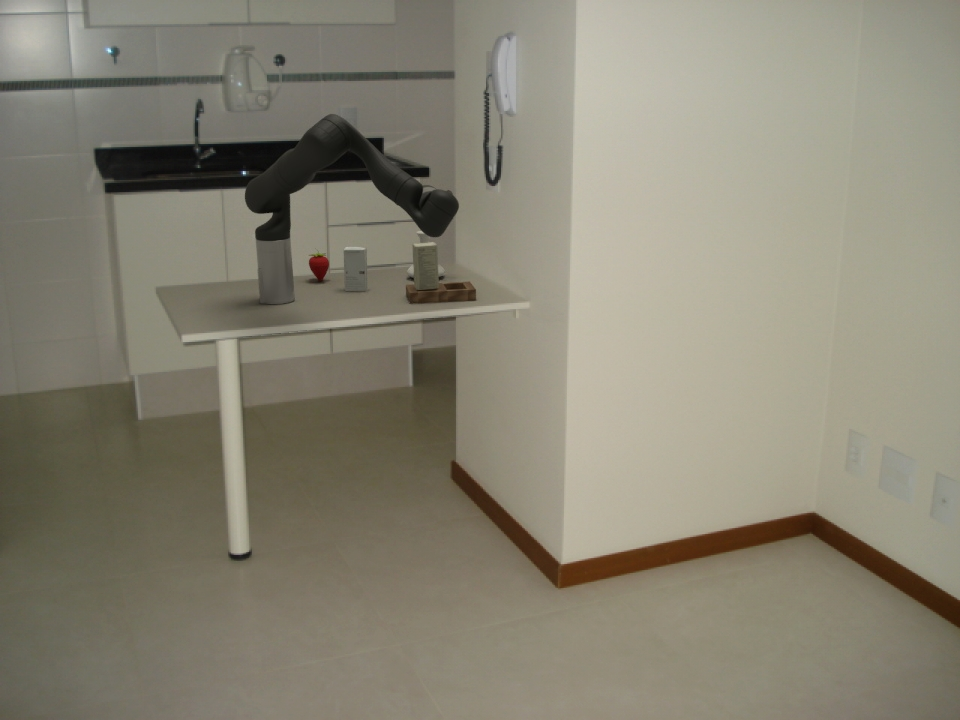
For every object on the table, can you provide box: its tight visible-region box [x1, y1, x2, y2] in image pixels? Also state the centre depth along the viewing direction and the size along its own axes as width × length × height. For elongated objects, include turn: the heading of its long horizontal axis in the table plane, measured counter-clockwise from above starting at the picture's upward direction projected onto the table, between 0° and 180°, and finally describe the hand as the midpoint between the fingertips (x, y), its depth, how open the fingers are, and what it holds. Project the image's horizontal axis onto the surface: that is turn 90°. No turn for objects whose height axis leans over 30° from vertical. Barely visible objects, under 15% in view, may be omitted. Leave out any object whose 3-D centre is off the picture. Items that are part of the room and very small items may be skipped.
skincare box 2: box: [411, 241, 440, 290], centre depth 271 cm, size 6×4×12 cm
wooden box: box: [405, 281, 477, 304], centre depth 274 cm, size 18×10×3 cm, turn 100°
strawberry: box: [308, 247, 330, 282], centre depth 295 cm, size 6×8×10 cm
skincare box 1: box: [343, 246, 369, 292], centre depth 284 cm, size 6×4×12 cm
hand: (420, 194), depth 254 cm, fingers open, 8 cm apart
